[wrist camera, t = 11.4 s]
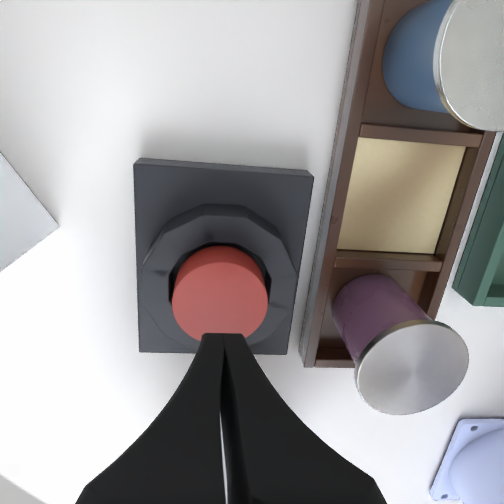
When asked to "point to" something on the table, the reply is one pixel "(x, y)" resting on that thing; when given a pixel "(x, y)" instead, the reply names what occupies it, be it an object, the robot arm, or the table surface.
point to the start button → (219, 293)
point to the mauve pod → (397, 347)
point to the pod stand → (388, 190)
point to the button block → (217, 240)
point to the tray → (486, 245)
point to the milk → (19, 216)
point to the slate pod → (450, 61)
